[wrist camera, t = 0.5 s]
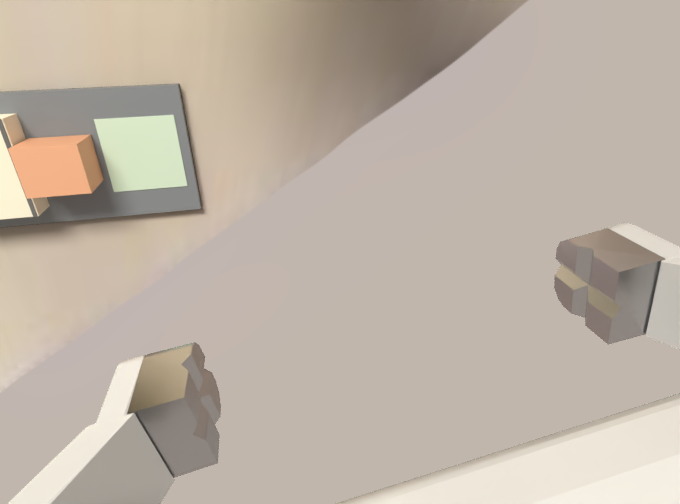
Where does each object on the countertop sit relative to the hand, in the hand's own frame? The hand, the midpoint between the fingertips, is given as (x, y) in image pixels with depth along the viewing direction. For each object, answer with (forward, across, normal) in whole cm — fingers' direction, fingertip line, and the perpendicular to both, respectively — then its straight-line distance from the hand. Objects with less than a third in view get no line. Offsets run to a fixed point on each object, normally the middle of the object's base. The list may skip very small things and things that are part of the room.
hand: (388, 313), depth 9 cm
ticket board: (+44, +26, +2) cm, 52 cm away
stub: (+43, +23, +2) cm, 49 cm away
